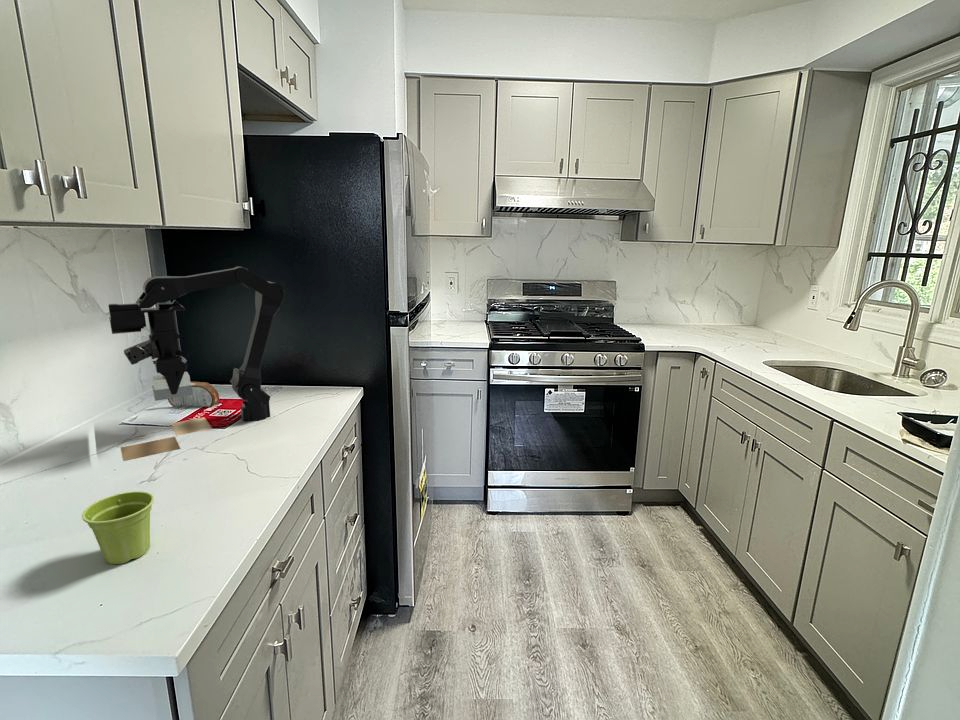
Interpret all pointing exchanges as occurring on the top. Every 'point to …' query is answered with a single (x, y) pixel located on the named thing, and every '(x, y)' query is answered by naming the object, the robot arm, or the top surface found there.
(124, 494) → the plant pot
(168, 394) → the block
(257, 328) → the robot arm
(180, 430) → the oak stand
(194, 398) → the tin
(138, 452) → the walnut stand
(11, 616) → the top surface
